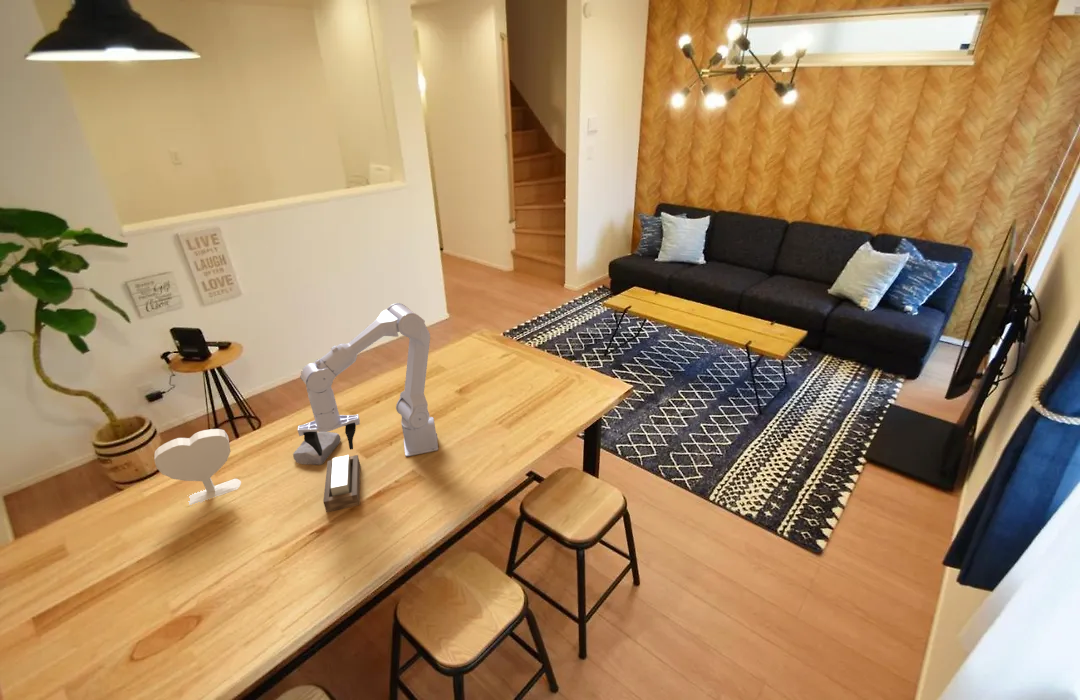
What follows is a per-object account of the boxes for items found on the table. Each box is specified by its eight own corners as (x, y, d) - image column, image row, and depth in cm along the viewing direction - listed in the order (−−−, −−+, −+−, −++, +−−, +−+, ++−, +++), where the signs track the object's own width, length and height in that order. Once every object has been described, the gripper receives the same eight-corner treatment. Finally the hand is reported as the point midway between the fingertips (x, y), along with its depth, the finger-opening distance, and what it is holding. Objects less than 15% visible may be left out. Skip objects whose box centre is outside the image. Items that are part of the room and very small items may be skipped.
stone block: (293, 468, 140) (324, 466, 138) (286, 455, 138) (317, 452, 136) (316, 443, 151) (344, 440, 148) (310, 431, 149) (339, 427, 146)
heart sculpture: (244, 475, 135) (223, 422, 127) (246, 485, 131) (224, 432, 123) (177, 499, 127) (150, 444, 119) (177, 511, 124) (149, 456, 115)
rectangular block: (351, 467, 136) (348, 454, 134) (350, 497, 126) (347, 484, 123) (336, 470, 135) (333, 458, 133) (334, 501, 125) (330, 488, 122)
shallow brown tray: (360, 464, 138) (357, 454, 137) (359, 504, 125) (356, 494, 123) (330, 470, 136) (327, 460, 134) (326, 512, 123) (323, 502, 121)
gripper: (355, 394, 128) (364, 435, 134) (295, 404, 124) (307, 446, 130) (354, 408, 122) (365, 451, 128) (291, 420, 118) (305, 463, 124)
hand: (336, 450), depth 129 cm, fingers open, 7 cm apart
